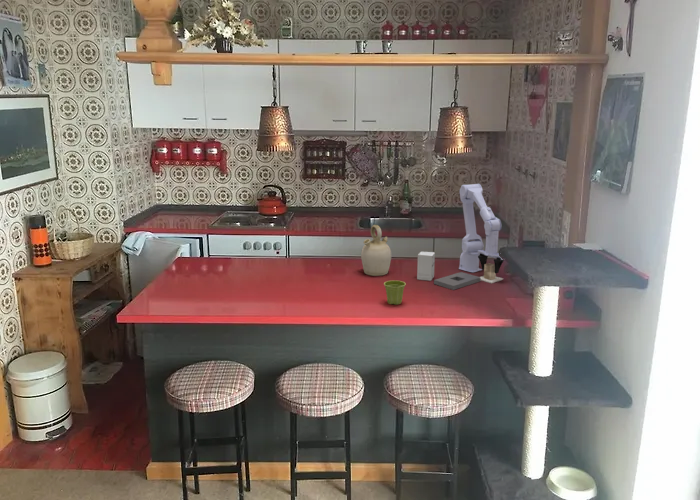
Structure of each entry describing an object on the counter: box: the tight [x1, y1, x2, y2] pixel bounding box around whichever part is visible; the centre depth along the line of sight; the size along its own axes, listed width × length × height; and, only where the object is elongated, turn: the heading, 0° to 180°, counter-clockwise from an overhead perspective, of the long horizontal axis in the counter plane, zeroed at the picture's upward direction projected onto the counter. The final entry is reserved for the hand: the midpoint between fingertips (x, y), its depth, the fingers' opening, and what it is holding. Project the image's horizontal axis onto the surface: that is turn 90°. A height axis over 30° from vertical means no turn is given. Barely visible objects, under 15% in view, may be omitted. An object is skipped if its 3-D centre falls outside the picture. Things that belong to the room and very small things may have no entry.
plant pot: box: [383, 280, 406, 305], centre depth 255 cm, size 9×9×9 cm
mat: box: [480, 275, 504, 284], centre depth 288 cm, size 9×9×1 cm
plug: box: [483, 262, 497, 280], centre depth 287 cm, size 4×4×7 cm
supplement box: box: [416, 251, 436, 282], centre depth 289 cm, size 7×7×13 cm
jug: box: [360, 224, 392, 277], centre depth 297 cm, size 15×16×25 cm
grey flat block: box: [433, 271, 482, 291], centre depth 283 cm, size 12×20×2 cm, turn 130°
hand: (490, 271), depth 287 cm, fingers open, 7 cm apart
